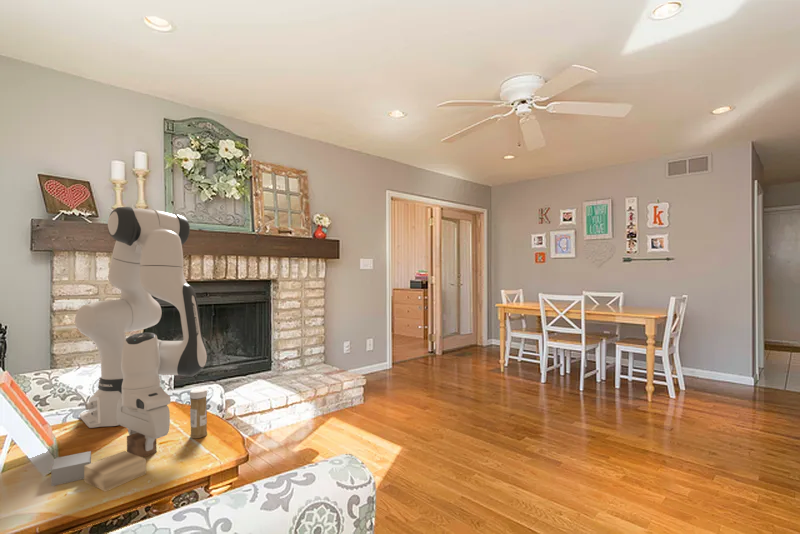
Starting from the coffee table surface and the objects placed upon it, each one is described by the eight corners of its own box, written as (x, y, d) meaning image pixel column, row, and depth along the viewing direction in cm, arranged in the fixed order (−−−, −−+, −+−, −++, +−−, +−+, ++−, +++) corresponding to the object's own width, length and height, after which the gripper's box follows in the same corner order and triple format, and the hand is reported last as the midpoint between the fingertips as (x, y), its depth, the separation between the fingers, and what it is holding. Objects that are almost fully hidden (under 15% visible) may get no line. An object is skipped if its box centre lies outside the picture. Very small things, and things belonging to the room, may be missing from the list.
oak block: (84, 482, 99) (84, 465, 99) (124, 466, 107) (124, 450, 107) (105, 492, 95) (105, 475, 95) (145, 475, 103) (145, 458, 103)
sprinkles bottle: (208, 436, 125) (208, 390, 125) (191, 440, 122) (190, 393, 122) (205, 431, 129) (205, 386, 129) (189, 434, 126) (188, 389, 126)
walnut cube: (127, 454, 113) (126, 436, 113) (146, 447, 117) (146, 429, 117) (136, 459, 110) (136, 440, 110) (156, 452, 115) (156, 433, 115)
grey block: (55, 474, 103) (55, 458, 103) (91, 466, 107) (90, 451, 107) (51, 487, 97) (51, 469, 97) (89, 478, 101) (89, 461, 101)
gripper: (109, 392, 117) (109, 442, 117) (149, 405, 106) (150, 461, 106) (133, 386, 122) (134, 434, 122) (174, 398, 111) (174, 451, 111)
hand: (141, 447), depth 114 cm, fingers closed on walnut cube, 5 cm apart
